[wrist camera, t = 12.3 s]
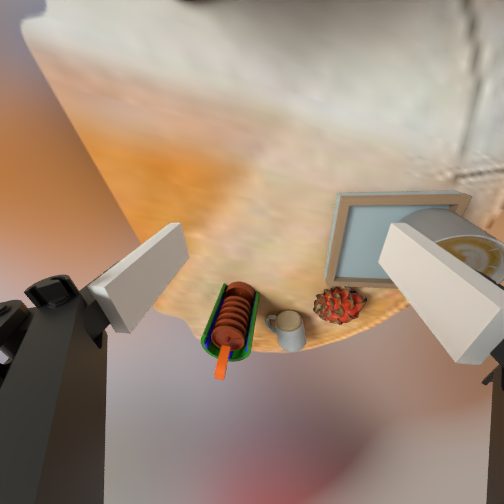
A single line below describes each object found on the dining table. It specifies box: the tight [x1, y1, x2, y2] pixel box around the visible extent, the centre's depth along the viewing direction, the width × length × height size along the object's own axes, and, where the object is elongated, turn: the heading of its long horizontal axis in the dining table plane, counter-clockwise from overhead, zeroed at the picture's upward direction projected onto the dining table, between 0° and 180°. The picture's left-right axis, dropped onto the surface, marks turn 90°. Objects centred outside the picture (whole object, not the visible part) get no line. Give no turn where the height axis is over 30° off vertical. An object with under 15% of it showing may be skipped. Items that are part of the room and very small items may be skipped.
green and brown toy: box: [201, 282, 259, 380], centre depth 43 cm, size 10×9×20 cm
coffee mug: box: [398, 208, 504, 284], centre depth 29 cm, size 13×10×10 cm
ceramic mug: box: [265, 310, 306, 352], centre depth 51 cm, size 11×8×8 cm
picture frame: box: [324, 191, 472, 289], centre depth 36 cm, size 18×18×6 cm
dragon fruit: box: [313, 286, 367, 325], centre depth 45 cm, size 8×8×12 cm
